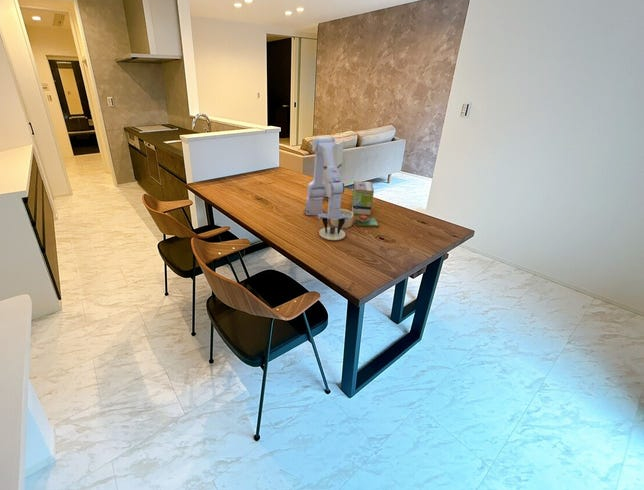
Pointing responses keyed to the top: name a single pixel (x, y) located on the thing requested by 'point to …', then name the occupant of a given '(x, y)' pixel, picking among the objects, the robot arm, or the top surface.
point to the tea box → (362, 198)
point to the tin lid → (332, 233)
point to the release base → (366, 222)
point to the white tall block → (337, 160)
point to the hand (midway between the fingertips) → (332, 232)
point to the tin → (347, 222)
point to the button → (363, 217)
